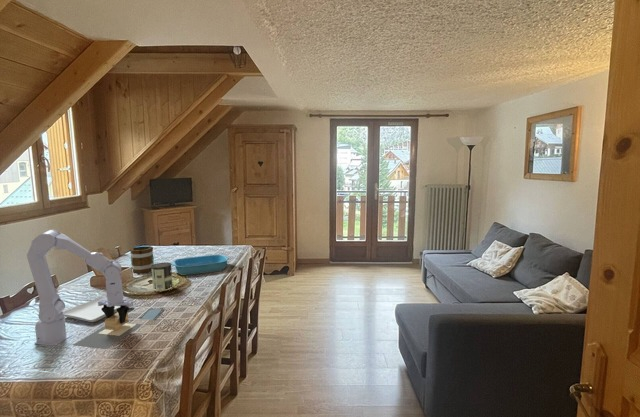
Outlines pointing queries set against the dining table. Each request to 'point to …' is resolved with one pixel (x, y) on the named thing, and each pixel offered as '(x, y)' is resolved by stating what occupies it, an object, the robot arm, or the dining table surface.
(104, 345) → the mat
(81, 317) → the salad plate
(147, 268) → the mug
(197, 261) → the casserole dish
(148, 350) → the dining table surface
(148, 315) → the smartphone
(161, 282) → the coffee can
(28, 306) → the dining table surface
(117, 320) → the pine block
